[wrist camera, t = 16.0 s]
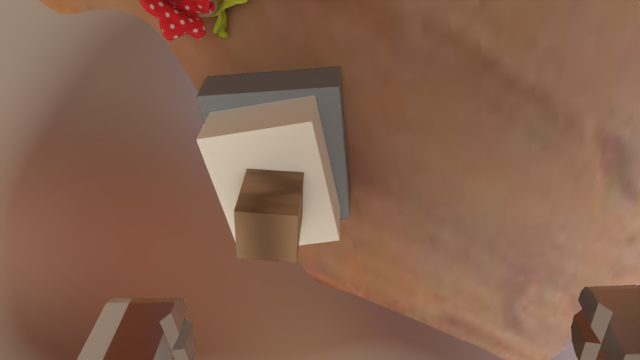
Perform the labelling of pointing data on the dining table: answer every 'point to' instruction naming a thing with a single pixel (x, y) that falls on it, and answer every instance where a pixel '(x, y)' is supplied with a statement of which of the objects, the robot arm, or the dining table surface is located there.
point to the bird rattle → (189, 16)
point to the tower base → (287, 86)
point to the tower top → (274, 158)
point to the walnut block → (269, 215)
